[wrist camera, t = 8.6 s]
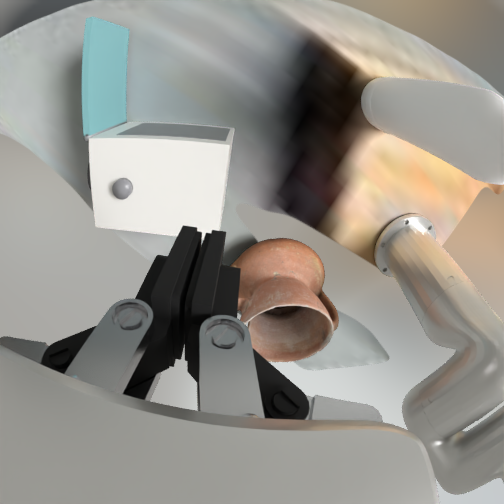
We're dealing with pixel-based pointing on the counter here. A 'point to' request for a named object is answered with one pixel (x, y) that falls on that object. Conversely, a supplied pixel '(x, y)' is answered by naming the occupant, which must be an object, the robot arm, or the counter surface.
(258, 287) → the ceramic jug
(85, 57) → the side door
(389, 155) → the counter surface
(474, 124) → the bottle
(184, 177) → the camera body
